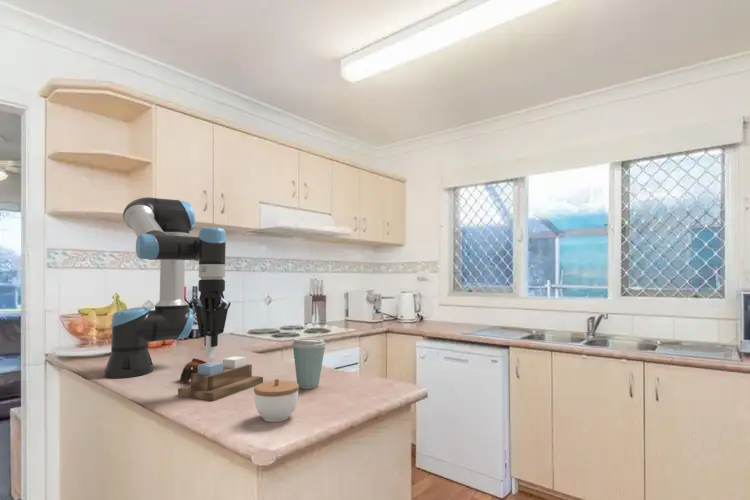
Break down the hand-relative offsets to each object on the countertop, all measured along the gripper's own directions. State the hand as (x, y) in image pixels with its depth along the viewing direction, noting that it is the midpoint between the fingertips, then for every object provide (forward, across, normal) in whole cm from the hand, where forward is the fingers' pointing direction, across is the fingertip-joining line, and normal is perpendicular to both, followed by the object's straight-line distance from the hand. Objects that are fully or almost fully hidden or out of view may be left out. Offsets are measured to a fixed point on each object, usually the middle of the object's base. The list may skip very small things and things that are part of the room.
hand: (210, 357), depth 126 cm
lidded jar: (+11, +32, -10) cm, 35 cm away
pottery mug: (+11, -16, +10) cm, 22 cm away
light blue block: (+6, 0, 0) cm, 6 cm away
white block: (+6, 0, +10) cm, 12 cm away
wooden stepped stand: (+11, 0, +5) cm, 12 cm away
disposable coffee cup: (+11, +23, +18) cm, 31 cm away
